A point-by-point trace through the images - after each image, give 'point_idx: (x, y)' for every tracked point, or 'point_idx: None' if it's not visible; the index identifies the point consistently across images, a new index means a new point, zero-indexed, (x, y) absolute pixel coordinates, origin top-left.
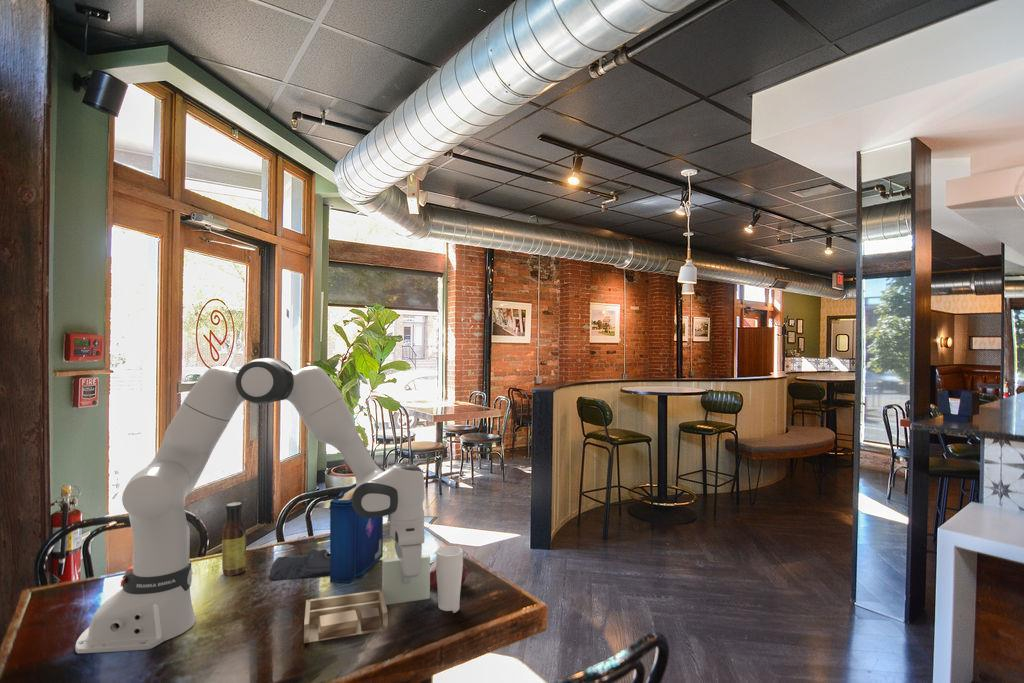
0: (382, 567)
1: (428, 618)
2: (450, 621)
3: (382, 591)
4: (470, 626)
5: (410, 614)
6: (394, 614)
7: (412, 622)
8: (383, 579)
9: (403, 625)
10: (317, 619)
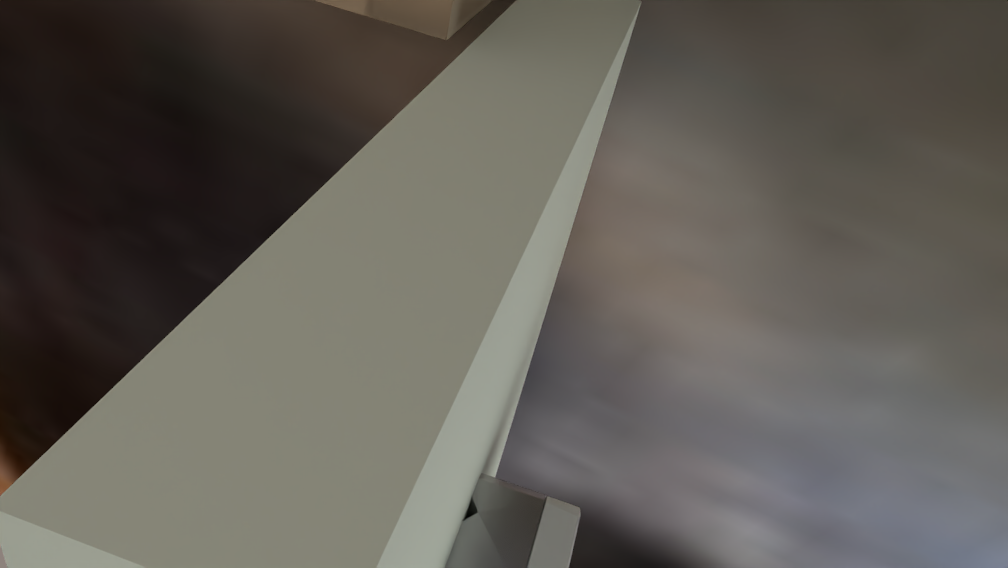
0: (428, 352)
1: (174, 295)
2: (89, 390)
3: (359, 3)
4: (3, 439)
5: (299, 205)
6: (366, 58)
7: (137, 148)
8: (384, 146)
9: (98, 42)
10: None
